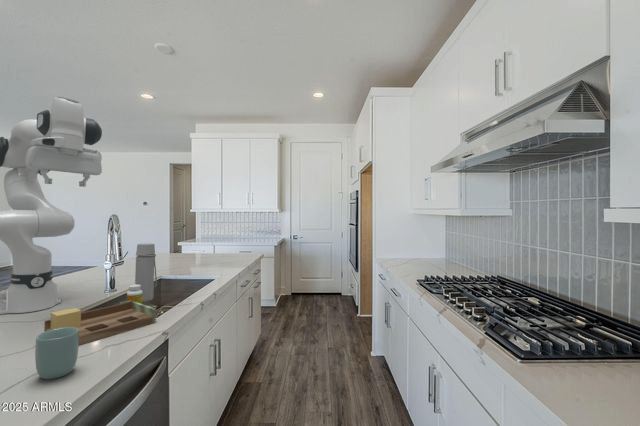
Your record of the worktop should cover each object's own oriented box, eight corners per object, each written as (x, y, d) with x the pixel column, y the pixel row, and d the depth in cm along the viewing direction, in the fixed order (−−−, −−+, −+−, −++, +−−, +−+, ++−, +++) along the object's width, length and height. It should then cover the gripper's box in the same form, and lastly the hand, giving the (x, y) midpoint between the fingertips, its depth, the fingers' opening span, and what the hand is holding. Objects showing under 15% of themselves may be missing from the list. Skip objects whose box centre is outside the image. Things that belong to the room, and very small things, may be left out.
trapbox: (44, 336, 93) (44, 319, 93) (132, 314, 115) (133, 299, 115) (64, 349, 84) (64, 330, 84) (155, 322, 106) (155, 307, 107)
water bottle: (141, 303, 128) (143, 245, 128) (130, 300, 131) (132, 244, 131) (161, 298, 136) (162, 243, 136) (150, 296, 139) (152, 242, 140)
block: (50, 328, 93) (50, 312, 93) (74, 323, 98) (74, 307, 98) (56, 332, 90) (57, 315, 90) (80, 326, 95) (81, 310, 95)
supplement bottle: (134, 312, 117) (135, 287, 117) (122, 311, 118) (123, 286, 118) (145, 308, 122) (145, 284, 122) (134, 307, 123) (134, 283, 123)
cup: (34, 374, 72) (35, 332, 72) (75, 363, 77) (76, 324, 77) (34, 388, 66) (36, 342, 66) (79, 375, 72) (80, 333, 72)
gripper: (97, 151, 114) (96, 188, 114) (24, 139, 96) (23, 182, 96) (105, 150, 110) (104, 187, 110) (31, 137, 93) (29, 181, 93)
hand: (66, 185), depth 103 cm, fingers open, 8 cm apart
